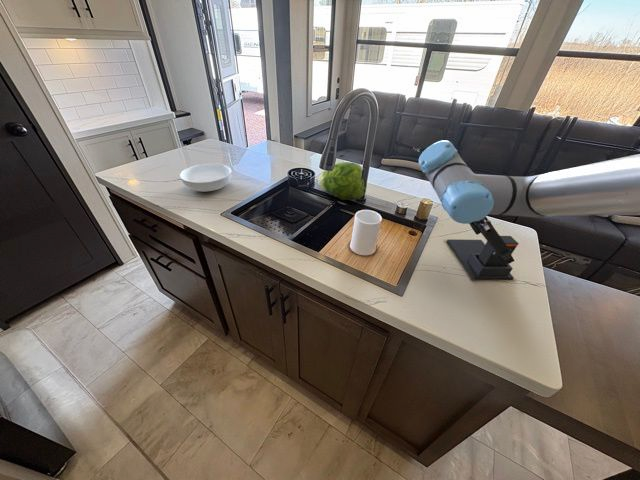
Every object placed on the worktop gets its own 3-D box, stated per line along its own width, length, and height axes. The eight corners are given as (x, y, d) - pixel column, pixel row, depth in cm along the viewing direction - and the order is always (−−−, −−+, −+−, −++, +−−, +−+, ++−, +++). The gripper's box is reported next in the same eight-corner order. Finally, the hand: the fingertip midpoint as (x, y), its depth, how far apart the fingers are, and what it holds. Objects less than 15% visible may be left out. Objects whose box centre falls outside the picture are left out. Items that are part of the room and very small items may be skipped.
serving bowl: (237, 176, 122) (235, 163, 118) (228, 198, 106) (225, 182, 102) (193, 176, 121) (189, 162, 117) (176, 197, 104) (171, 182, 100)
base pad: (512, 280, 75) (519, 270, 72) (473, 279, 74) (478, 270, 72) (479, 241, 89) (484, 232, 86) (446, 241, 88) (450, 232, 86)
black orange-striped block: (499, 272, 76) (518, 243, 69) (480, 272, 75) (497, 243, 69) (492, 264, 78) (510, 235, 72) (474, 263, 78) (490, 235, 71)
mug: (354, 231, 91) (359, 202, 83) (378, 237, 89) (385, 207, 81) (347, 252, 82) (351, 221, 74) (373, 258, 80) (380, 227, 72)
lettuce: (332, 188, 123) (323, 159, 114) (374, 185, 112) (367, 152, 103) (318, 207, 113) (307, 177, 104) (363, 206, 102) (354, 172, 93)
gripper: (429, 184, 73) (460, 228, 83) (473, 237, 53) (507, 285, 63) (453, 167, 70) (482, 214, 80) (510, 216, 50) (539, 270, 60)
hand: (493, 246), depth 71 cm, fingers open, 13 cm apart
